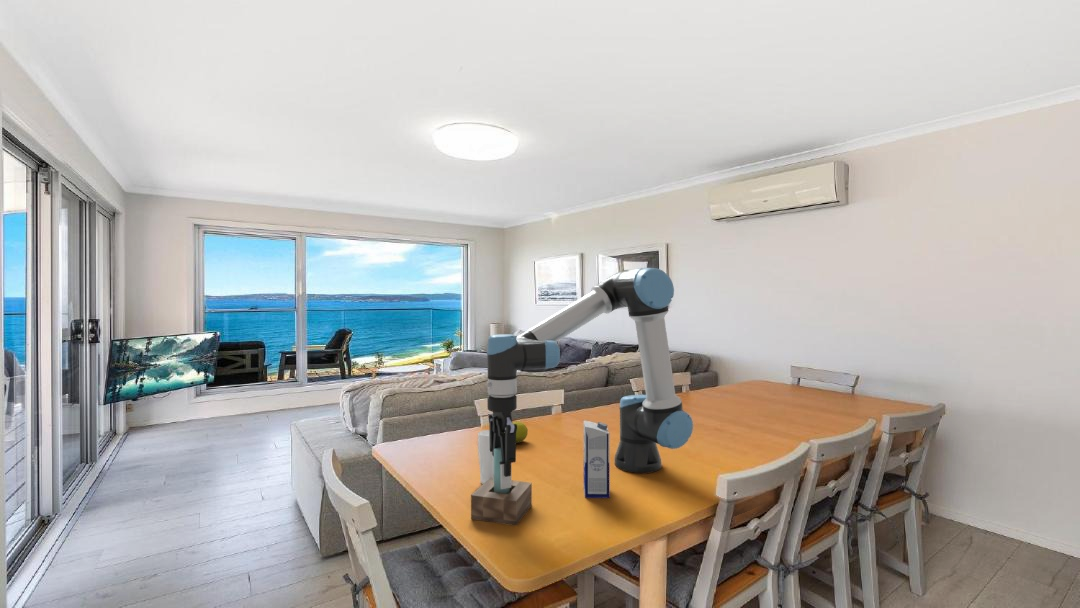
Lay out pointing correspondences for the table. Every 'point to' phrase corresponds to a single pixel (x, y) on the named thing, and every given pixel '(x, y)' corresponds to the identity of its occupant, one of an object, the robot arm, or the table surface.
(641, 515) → the table surface
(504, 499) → the bore block
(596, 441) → the milk carton
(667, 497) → the table surface
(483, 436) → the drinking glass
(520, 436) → the lemon
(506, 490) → the dowel
